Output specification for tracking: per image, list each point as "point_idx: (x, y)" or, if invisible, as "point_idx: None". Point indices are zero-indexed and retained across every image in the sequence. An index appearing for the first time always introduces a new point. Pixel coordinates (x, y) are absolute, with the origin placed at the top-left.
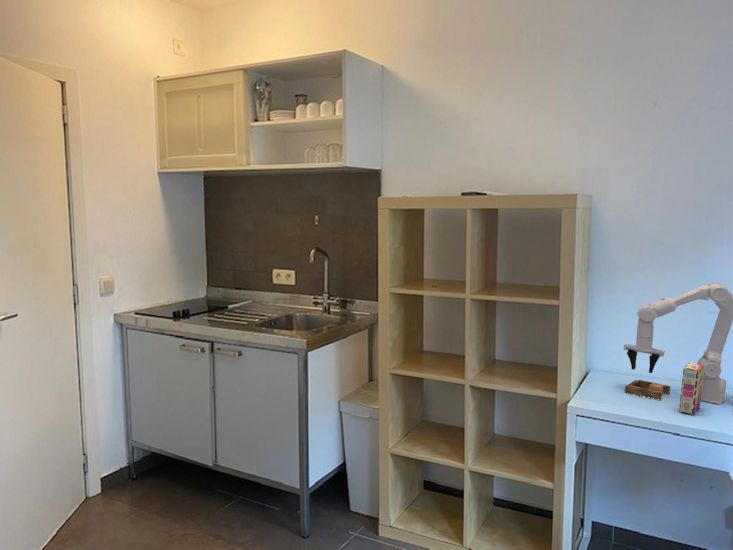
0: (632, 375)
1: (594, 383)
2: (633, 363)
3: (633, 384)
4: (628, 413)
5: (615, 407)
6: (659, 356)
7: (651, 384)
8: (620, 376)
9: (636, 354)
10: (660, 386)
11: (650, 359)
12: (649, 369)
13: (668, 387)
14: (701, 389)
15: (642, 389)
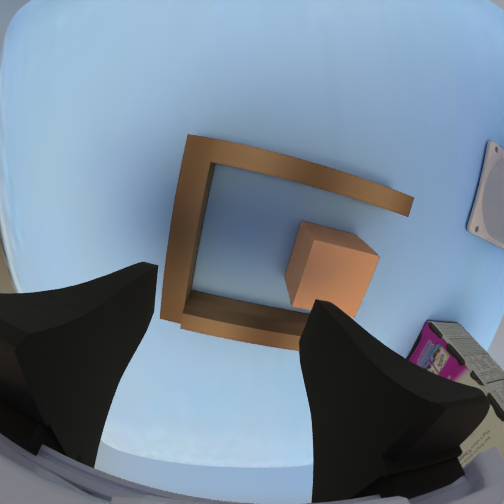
0: None
1: (30, 225)
2: (128, 355)
3: (191, 256)
4: (234, 459)
5: (191, 442)
6: (460, 433)
7: (307, 283)
8: (110, 8)
9: (70, 343)
10: (360, 295)
11: (322, 483)
12: (305, 372)
13: (401, 214)
14: (496, 365)
15: (256, 342)
